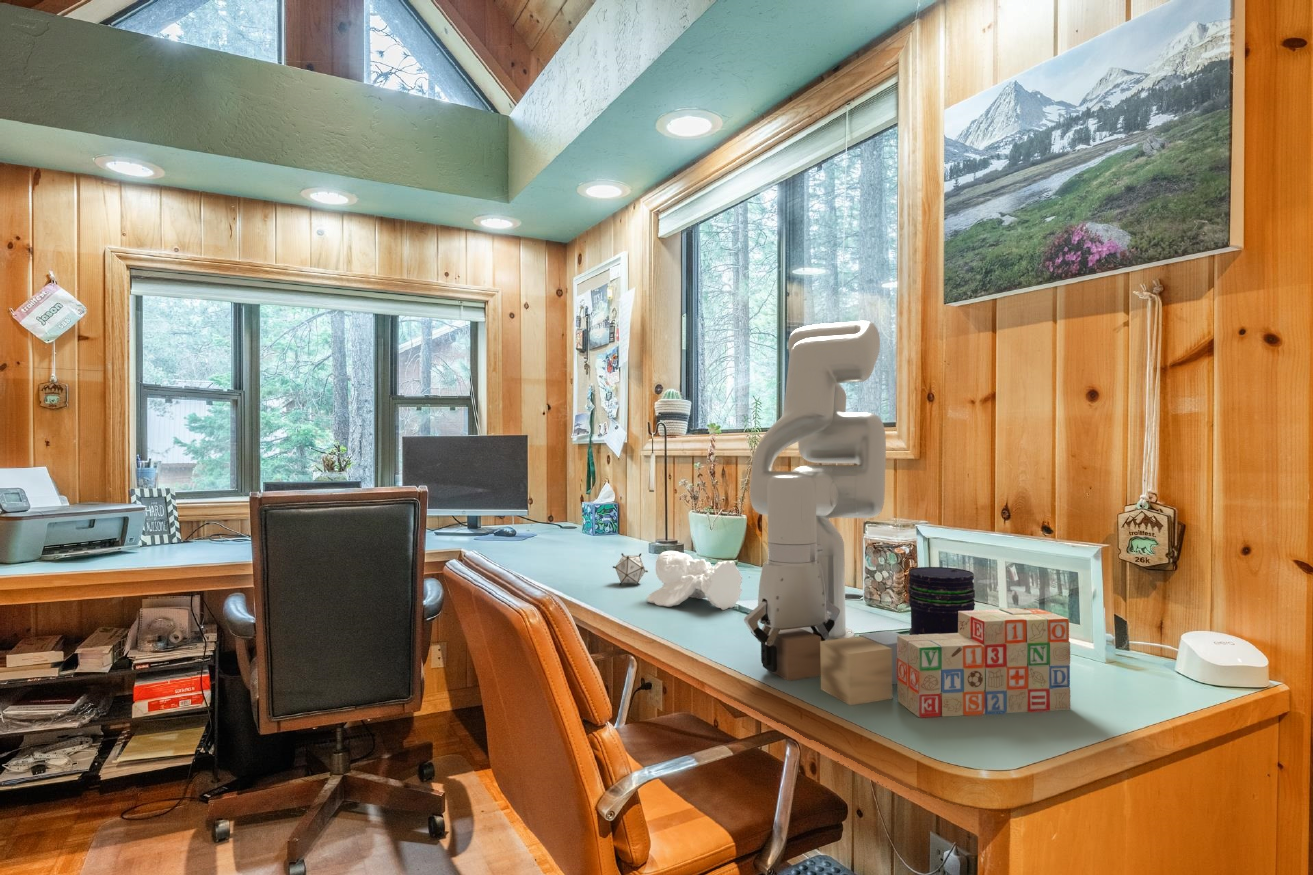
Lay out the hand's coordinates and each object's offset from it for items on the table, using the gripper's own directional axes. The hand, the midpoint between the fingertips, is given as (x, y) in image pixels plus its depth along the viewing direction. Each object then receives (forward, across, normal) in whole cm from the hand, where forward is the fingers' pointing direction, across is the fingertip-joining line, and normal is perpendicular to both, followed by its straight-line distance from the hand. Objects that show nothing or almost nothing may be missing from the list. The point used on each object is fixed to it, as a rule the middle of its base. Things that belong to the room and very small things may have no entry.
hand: (793, 665), depth 111 cm
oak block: (+1, -3, +12) cm, 12 cm away
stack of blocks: (+1, -15, +22) cm, 27 cm away
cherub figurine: (+1, -6, -50) cm, 51 cm away
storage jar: (+1, -23, +7) cm, 24 cm away
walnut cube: (+1, 0, 0) cm, 1 cm away
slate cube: (+1, -12, +8) cm, 14 cm away
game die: (+1, -1, -78) cm, 78 cm away
